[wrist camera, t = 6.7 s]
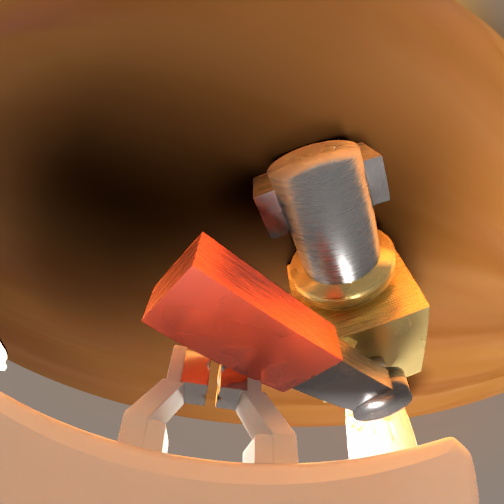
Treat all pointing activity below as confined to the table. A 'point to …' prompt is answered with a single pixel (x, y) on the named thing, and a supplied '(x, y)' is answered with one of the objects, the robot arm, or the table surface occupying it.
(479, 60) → the table surface
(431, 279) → the table surface
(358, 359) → the lever
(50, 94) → the table surface
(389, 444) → the white cup
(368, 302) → the valve
